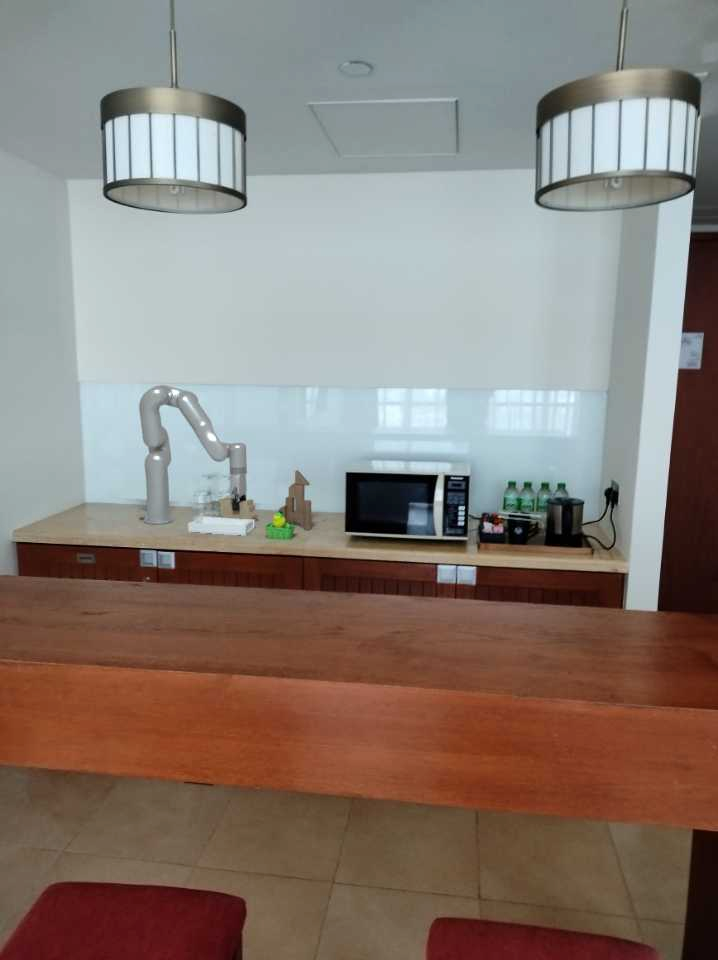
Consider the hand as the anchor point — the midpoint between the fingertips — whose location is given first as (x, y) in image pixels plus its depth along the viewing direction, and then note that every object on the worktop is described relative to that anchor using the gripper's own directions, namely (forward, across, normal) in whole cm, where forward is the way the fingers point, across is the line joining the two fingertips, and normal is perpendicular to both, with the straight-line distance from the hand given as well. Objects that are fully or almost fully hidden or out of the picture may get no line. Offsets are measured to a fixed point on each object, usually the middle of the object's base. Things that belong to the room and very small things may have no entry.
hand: (239, 508), depth 308 cm
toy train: (+6, 0, -1) cm, 6 cm away
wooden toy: (+7, +5, +27) cm, 29 cm away
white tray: (+6, +18, -2) cm, 19 cm away
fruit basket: (+7, +24, +25) cm, 36 cm away
